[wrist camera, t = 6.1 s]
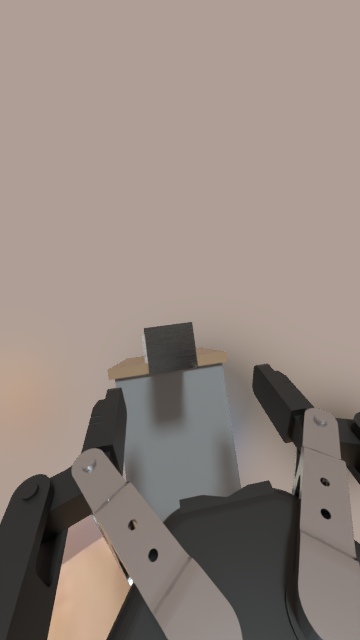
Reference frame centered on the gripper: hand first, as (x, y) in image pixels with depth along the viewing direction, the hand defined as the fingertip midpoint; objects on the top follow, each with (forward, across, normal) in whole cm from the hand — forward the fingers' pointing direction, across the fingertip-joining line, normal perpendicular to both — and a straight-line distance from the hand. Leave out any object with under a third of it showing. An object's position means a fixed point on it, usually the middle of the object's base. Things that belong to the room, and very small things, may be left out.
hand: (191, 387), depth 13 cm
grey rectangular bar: (+10, -1, -5) cm, 11 cm away
